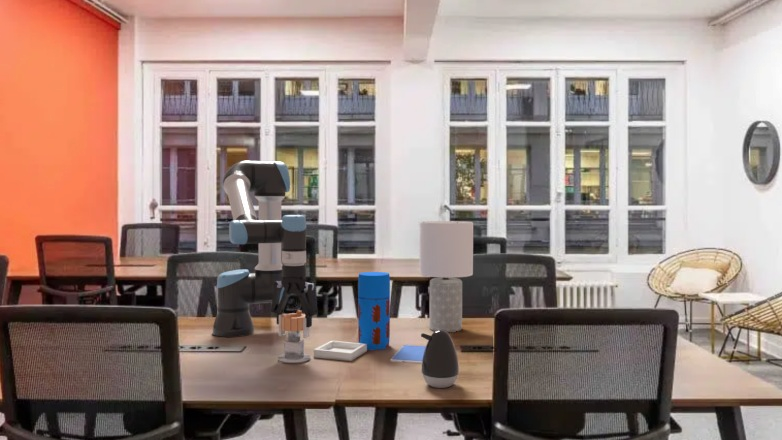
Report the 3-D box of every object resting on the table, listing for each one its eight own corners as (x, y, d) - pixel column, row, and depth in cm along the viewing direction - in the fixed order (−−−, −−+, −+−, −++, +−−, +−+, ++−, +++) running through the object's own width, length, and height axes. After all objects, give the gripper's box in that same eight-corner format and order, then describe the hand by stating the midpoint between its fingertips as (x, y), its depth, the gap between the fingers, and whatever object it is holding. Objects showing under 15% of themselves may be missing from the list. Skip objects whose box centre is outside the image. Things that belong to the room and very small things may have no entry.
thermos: (394, 344, 212) (395, 272, 211) (381, 351, 202) (381, 276, 201) (366, 341, 217) (367, 271, 216) (352, 347, 207) (352, 274, 206)
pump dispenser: (418, 380, 171) (418, 326, 170) (454, 379, 172) (455, 325, 171) (423, 391, 161) (423, 334, 160) (462, 390, 162) (462, 333, 161)
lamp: (481, 327, 240) (481, 222, 238) (457, 337, 223) (458, 223, 221) (434, 321, 251) (435, 220, 249) (409, 330, 234) (409, 222, 232)
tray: (313, 357, 195) (313, 349, 195) (331, 347, 207) (331, 340, 207) (350, 361, 190) (350, 353, 190) (366, 351, 202) (366, 343, 202)
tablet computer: (428, 366, 187) (429, 361, 187) (389, 363, 190) (389, 358, 190) (439, 350, 206) (439, 346, 206) (403, 348, 209) (403, 344, 209)
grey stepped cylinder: (272, 361, 189) (271, 322, 189) (288, 354, 198) (288, 316, 198) (300, 365, 186) (300, 325, 185) (315, 357, 195) (315, 318, 194)
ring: (289, 324, 197) (289, 309, 197) (311, 326, 194) (311, 311, 194) (276, 329, 189) (276, 314, 189) (299, 332, 187) (299, 316, 186)
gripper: (258, 263, 191) (259, 335, 192) (318, 267, 184) (318, 341, 185) (271, 261, 198) (271, 330, 199) (329, 264, 191) (329, 336, 192)
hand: (294, 335), depth 192 cm, fingers closed on ring, 8 cm apart
